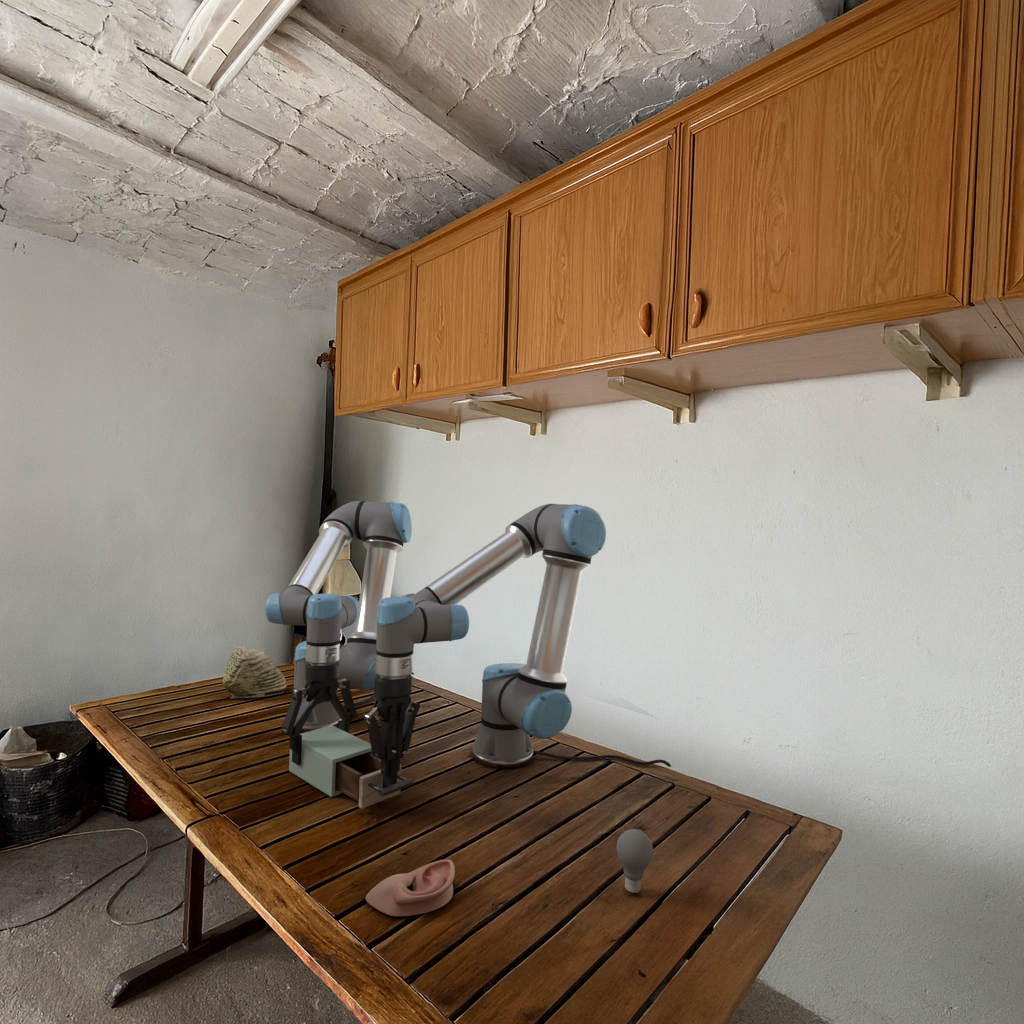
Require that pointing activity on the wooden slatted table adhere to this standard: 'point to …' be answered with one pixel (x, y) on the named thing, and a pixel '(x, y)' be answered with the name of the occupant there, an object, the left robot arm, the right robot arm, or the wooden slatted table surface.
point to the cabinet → (326, 756)
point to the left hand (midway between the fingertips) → (319, 755)
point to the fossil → (252, 674)
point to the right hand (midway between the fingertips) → (389, 788)
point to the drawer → (366, 780)
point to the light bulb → (634, 857)
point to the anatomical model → (414, 890)
